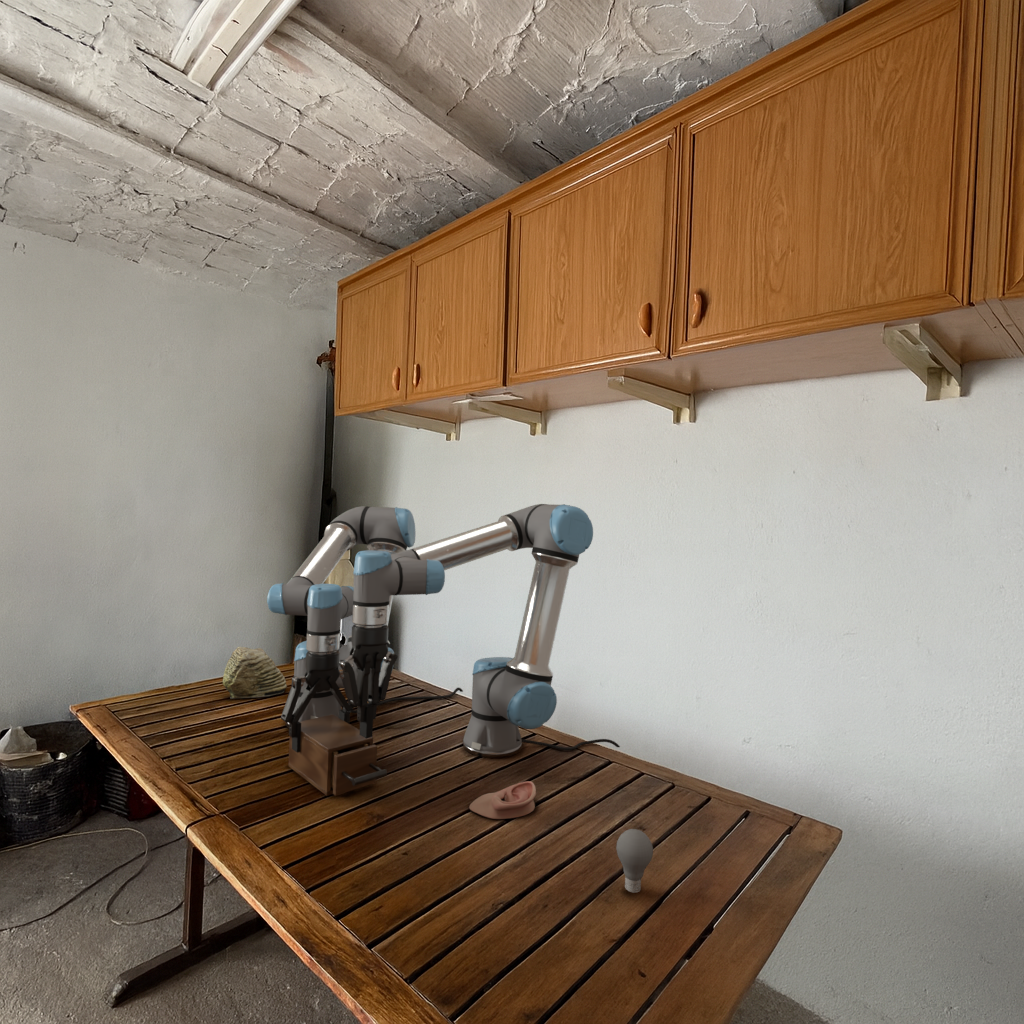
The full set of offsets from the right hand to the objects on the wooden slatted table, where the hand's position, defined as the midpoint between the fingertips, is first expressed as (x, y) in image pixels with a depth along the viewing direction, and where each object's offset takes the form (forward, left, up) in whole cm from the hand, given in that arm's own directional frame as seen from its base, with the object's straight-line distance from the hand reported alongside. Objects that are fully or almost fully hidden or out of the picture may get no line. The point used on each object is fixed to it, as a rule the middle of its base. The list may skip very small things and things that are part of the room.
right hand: (365, 735), depth 133 cm
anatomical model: (-25, +15, -14) cm, 32 cm away
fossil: (+12, -80, -14) cm, 82 cm away
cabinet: (+4, -15, -13) cm, 20 cm away
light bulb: (-32, +50, -14) cm, 60 cm away
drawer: (+2, -9, -13) cm, 15 cm away
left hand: (+5, -20, -8) cm, 22 cm away
